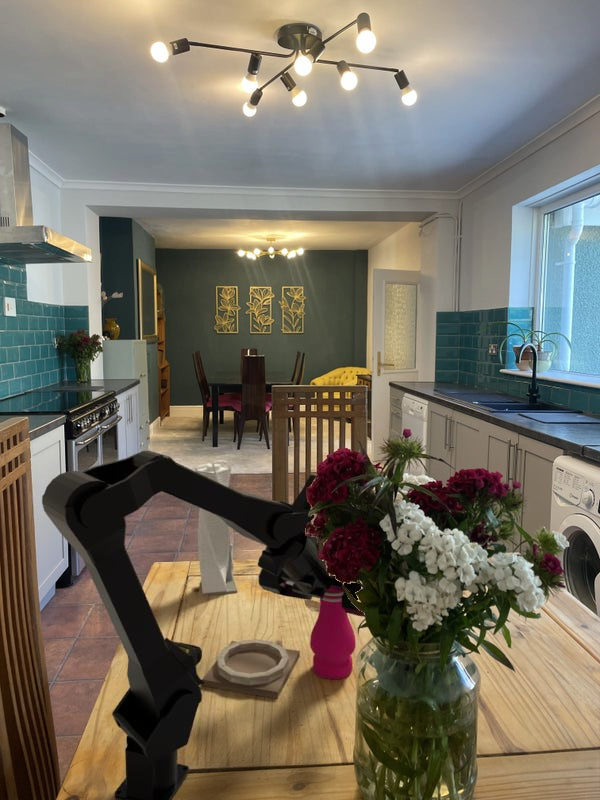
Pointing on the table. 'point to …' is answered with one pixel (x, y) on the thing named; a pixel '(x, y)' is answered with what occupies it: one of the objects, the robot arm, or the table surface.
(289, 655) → the stand
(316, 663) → the pepper mill
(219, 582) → the skyscraper
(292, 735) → the table surface
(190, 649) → the tape measure
